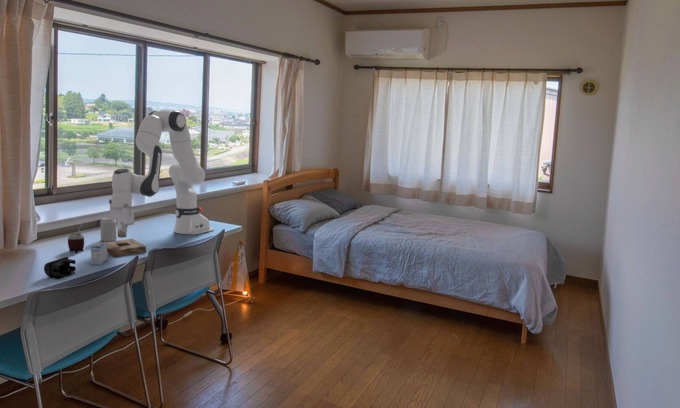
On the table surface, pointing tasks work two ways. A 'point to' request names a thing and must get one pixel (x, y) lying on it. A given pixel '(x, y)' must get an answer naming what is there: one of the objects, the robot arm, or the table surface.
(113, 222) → the can
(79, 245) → the mate gourd
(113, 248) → the block
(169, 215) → the table surface
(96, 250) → the medicine box
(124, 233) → the cylinder
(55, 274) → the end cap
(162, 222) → the table surface
